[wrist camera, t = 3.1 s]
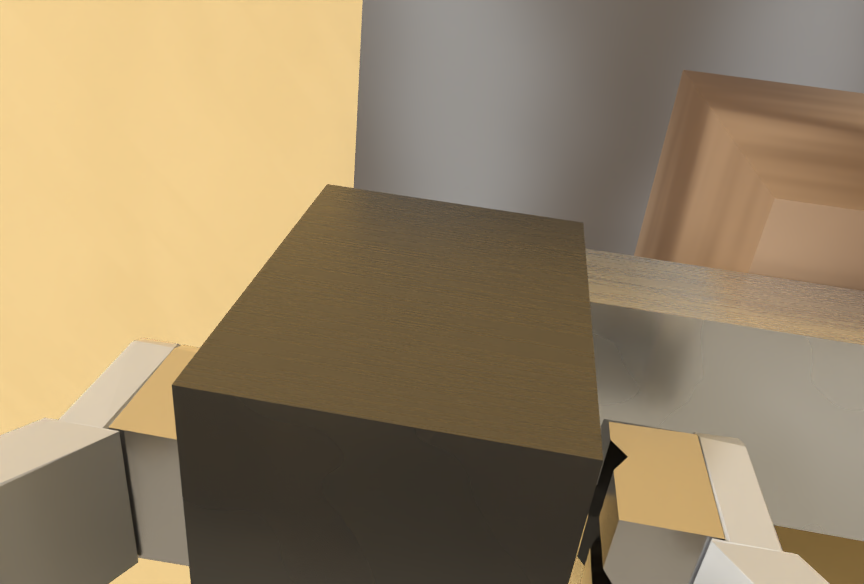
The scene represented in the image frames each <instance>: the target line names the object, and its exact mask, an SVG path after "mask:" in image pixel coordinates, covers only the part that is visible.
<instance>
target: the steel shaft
mask: <svg viewBox="0 0 864 584" xmlns="http://www.w3.org/2000/svg"><path fill="white" fill-rule="evenodd" d="M172 395H173V405H174V415H175V425H176V436H177V446H178V456H179V466H180V476H181V487H182V497H183V507H184V517H185V528H186V538H187V548H188V558H189V568H190V579H191V584H568V582H569V579H570V575H571V572H572V568H573V565H574V561H575V558H576V554H577V551H578V547H579V544H580V540H581V537H582V533H583V530H584V526H585V523H586V519H587V516H588V512H589V509H590V505H591V502H592V498H593V495H594V491H595V488H596V484H597V481H598V477H599V474H600V470H601V467H602V463H603V452H602V440H601V428H600V426H601V424H602V422H603V420H604V419H608V420H614V421H620V422H626V423H632V424H638V425H644V426H650V427H656V428H662V429H668V430H674V431H680V432H686V433H693V432H696V433H703V434H710V435H717V436H724V437H731V438H738V439H740V440H741V441H742V442H743V443H744V444H745V445H746V448H747V451H748V454H749V456H750V459H751V462H752V465H753V468H754V471H755V473H756V476H757V479H758V482H759V485H760V487H761V490H762V493H763V496H764V499H765V502H766V504H767V507H768V510H769V513H770V516H771V518H772V521H773V524H774V525H775V526H781V527H787V528H792V529H798V530H803V531H809V532H815V533H820V534H826V535H831V536H837V537H842V538H848V539H854V540H859V541H864V291H860V290H853V289H847V288H840V287H834V286H827V285H821V284H814V283H807V282H801V281H794V280H788V279H781V278H775V277H768V276H762V275H755V274H748V273H742V272H735V271H729V270H722V269H716V268H709V267H703V266H696V265H689V264H683V263H676V262H670V261H663V260H657V259H650V258H643V257H637V256H630V255H624V254H617V253H611V252H604V251H598V250H591V249H585V238H584V226H583V222H576V221H569V220H563V219H556V218H549V217H543V216H536V215H529V214H523V213H516V212H509V211H503V210H496V209H489V208H482V207H476V206H469V205H462V204H456V203H449V202H442V201H436V200H429V199H422V198H416V197H409V196H402V195H396V194H389V193H382V192H376V191H369V190H362V189H355V188H349V187H342V186H335V185H329V184H327V185H326V187H325V188H324V189H323V190H322V192H321V193H320V194H319V196H318V197H317V198H316V199H315V201H314V202H313V203H312V205H311V206H310V207H309V208H308V210H307V211H306V212H305V214H304V215H303V216H302V217H301V219H300V220H299V221H298V223H297V224H296V225H295V226H294V228H293V229H292V230H291V232H290V233H289V234H288V235H287V237H286V238H285V239H284V241H283V242H282V243H281V245H280V246H279V247H278V248H277V250H276V251H275V252H274V254H273V255H272V256H271V257H270V259H269V260H268V261H267V263H266V264H265V265H264V266H263V268H262V269H261V270H260V272H259V273H258V274H257V275H256V277H255V278H254V279H253V281H252V282H251V283H250V284H249V286H248V287H247V288H246V290H245V291H244V292H243V293H242V295H241V296H240V297H239V299H238V300H237V301H236V302H235V304H234V305H233V306H232V308H231V309H230V310H229V311H228V313H227V314H226V315H225V317H224V318H223V319H222V321H221V322H220V323H219V324H218V326H217V327H216V328H215V330H214V331H213V332H212V333H211V335H210V336H209V337H208V339H207V340H206V341H205V342H204V344H203V345H202V346H201V348H200V349H199V350H198V351H197V353H196V354H195V355H194V357H193V358H192V359H191V360H190V362H189V363H188V364H187V366H186V367H185V368H184V369H183V371H182V372H181V373H180V375H179V376H178V377H177V378H176V380H175V381H174V382H173V384H172Z"/></svg>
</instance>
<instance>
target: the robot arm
mask: <svg viewBox="0 0 864 584" xmlns="http://www.w3.org/2000/svg"><path fill="white" fill-rule="evenodd" d="M199 349H200V348H198V347H193V346H188V345H179V344H176V343H170V342H164V341H159V340H153V339H148V338H141V339H138V340H134V341H133V342H131V343H130V344H129V345H128V346H127V347H126V349H125V350H124V351H123V352H122V353H121V354H120V355H119V356H118V357H117V358H116V359H115V360H114V361H113V362H112V363H111V364H110V365H109V366H108V368H107V369H106V370H105V371H104V372H103V373H102V374H101V375H100V376H99V377H98V378H97V379H96V380H95V381H94V382H93V383H92V384H91V385H90V387H89V388H88V389H87V390H86V391H85V392H84V393H83V394H82V395H81V396H80V397H79V398H78V399H77V400H76V401H75V402H74V403H73V405H72V406H71V407H70V408H69V409H68V410H67V411H66V412H65V413H64V414H63V415H62V416H61V417H60V418H59V419H58V420H55V419H49V418H43V419H40V420H38V421H35V422H33V423H30V424H28V425H25V426H23V427H20V428H18V429H15V430H12V431H10V432H7V433H5V434H2V435H0V584H109V583H110V582H111V581H113V580H114V579H115V578H117V577H118V576H120V575H121V574H122V573H124V572H125V571H127V570H128V569H129V568H131V567H132V566H134V565H135V564H136V563H138V558H144V559H150V560H156V561H162V562H168V563H174V564H180V565H186V566H189V558H188V548H187V538H186V528H185V517H184V507H183V497H182V487H181V476H180V466H179V456H178V446H177V436H176V425H175V415H174V405H173V395H172V384H173V382H174V381H175V380H176V378H177V377H178V376H179V375H180V373H181V372H182V371H183V369H184V368H185V367H186V366H187V364H188V363H189V362H190V360H191V359H192V358H193V357H194V355H195V354H196V353H197V351H198V350H199ZM600 428H601V440H602V452H603V463H602V467H601V470H600V474H599V477H598V481H597V484H596V488H595V491H594V495H593V498H592V502H591V505H590V509H589V512H588V516H587V519H586V523H585V526H584V530H583V533H582V537H581V540H580V544H579V547H578V551H577V557H578V558H579V559H580V560H581V562H582V563H583V564H584V566H585V567H584V570H583V574H582V577H581V581H580V584H830V583H828V582H827V581H826V580H825V579H824V578H823V577H822V576H821V575H820V574H819V573H818V572H816V571H815V570H814V569H813V568H812V567H811V566H810V565H809V564H808V563H807V562H806V561H805V560H803V559H802V558H801V557H800V556H799V555H798V554H793V553H788V552H783V549H782V547H781V544H780V541H779V538H778V535H777V532H776V530H775V527H774V524H773V521H772V518H771V516H770V513H769V510H768V507H767V504H766V502H765V499H764V496H763V493H762V490H761V487H760V485H759V482H758V479H757V476H756V473H755V471H754V468H753V465H752V462H751V459H750V456H749V454H748V451H747V448H746V445H745V444H744V443H743V442H742V441H741V440H740V439H738V438H731V437H724V436H717V435H710V434H703V433H696V432H693V433H686V432H680V431H674V430H668V429H662V428H656V427H650V426H644V425H638V424H632V423H626V422H620V421H614V420H608V419H604V420H603V422H602V424H601V426H600Z"/></svg>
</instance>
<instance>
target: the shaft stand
mask: <svg viewBox="0 0 864 584" xmlns="http://www.w3.org/2000/svg"><path fill="white" fill-rule="evenodd" d="M354 188H355V189H362V190H369V191H376V192H382V193H389V194H396V195H402V196H409V197H416V198H422V199H429V200H436V201H442V202H449V203H456V204H462V205H469V206H476V207H482V208H489V209H496V210H503V211H509V212H516V213H523V214H529V215H536V216H543V217H549V218H556V219H563V220H569V221H576V222H583V226H584V238H585V249H591V250H598V251H604V252H611V253H617V254H624V255H630V256H637V257H643V258H650V259H657V260H663V261H670V262H676V263H683V264H689V265H696V266H703V267H709V268H716V269H722V270H729V271H735V272H742V273H748V274H755V275H762V276H768V277H775V278H781V279H788V280H794V281H801V282H807V283H814V284H821V285H827V286H834V287H840V288H847V289H853V290H860V291H864V0H363V8H362V28H361V49H360V70H359V90H358V111H357V132H356V153H355V173H354Z"/></svg>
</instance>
